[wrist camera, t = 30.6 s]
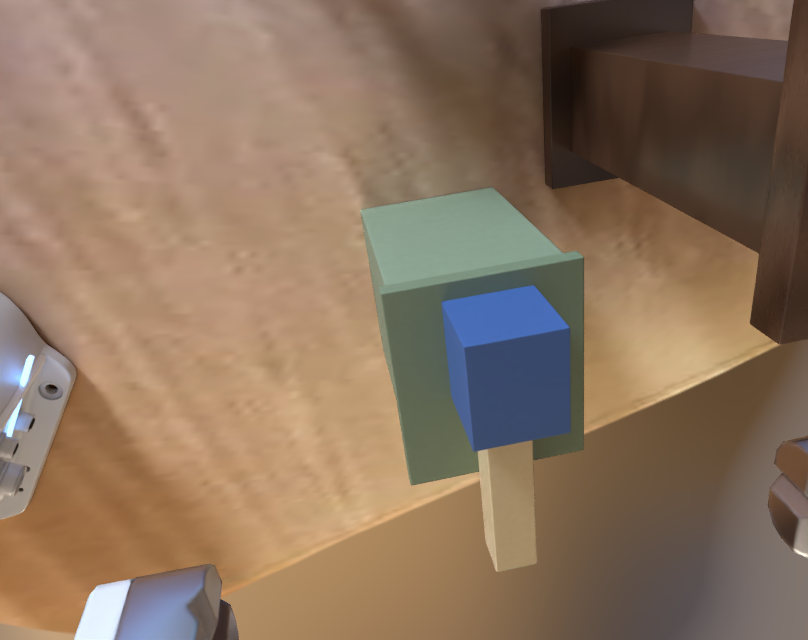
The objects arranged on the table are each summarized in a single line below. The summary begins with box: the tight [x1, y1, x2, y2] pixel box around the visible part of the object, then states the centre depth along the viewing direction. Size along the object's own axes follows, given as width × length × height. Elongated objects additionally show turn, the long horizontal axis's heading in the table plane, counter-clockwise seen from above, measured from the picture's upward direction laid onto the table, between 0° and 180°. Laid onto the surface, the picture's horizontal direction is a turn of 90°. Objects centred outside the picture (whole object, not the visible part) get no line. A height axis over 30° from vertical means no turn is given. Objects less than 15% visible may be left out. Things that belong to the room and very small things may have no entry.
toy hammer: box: [442, 285, 571, 572], centre depth 35 cm, size 18×5×5 cm, turn 7°
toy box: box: [361, 187, 584, 485], centre depth 43 cm, size 13×11×16 cm
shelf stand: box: [541, 0, 808, 344], centre depth 35 cm, size 13×10×25 cm
